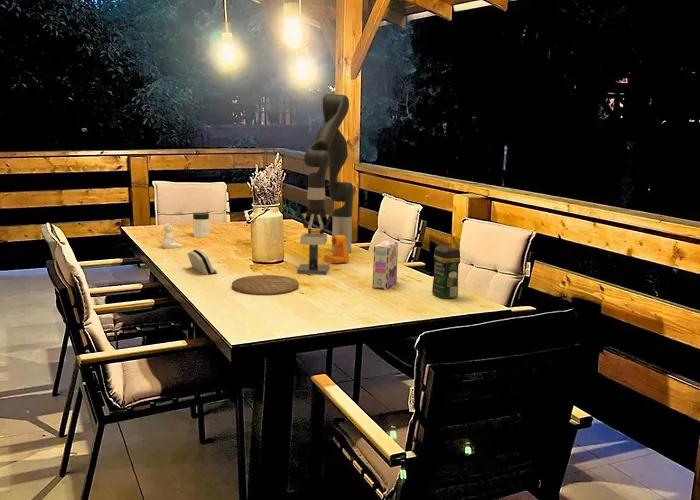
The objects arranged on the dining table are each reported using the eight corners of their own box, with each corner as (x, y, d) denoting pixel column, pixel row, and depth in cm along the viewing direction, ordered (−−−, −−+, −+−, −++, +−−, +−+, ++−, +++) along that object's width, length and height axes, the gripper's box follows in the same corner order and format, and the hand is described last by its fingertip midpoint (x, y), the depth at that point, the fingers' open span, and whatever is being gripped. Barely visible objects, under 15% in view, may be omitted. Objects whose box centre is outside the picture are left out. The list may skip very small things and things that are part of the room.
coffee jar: (428, 293, 251) (430, 244, 247) (446, 291, 254) (448, 243, 250) (443, 300, 242) (445, 249, 238) (461, 298, 246) (464, 247, 242)
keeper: (300, 267, 289) (301, 240, 287) (328, 268, 288) (329, 241, 286) (297, 273, 277) (297, 246, 275) (326, 274, 277) (326, 247, 274)
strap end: (305, 237, 292) (305, 228, 292) (328, 237, 292) (328, 228, 291) (300, 244, 276) (300, 234, 275) (324, 245, 275) (324, 235, 275)
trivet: (225, 282, 262) (225, 277, 261) (286, 277, 271) (286, 273, 271) (241, 298, 239) (241, 293, 239) (308, 292, 249) (308, 287, 249)
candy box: (386, 290, 254) (388, 247, 251) (372, 288, 256) (373, 245, 253) (397, 282, 267) (398, 241, 264) (383, 280, 269) (384, 239, 266)
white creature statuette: (182, 248, 323) (182, 223, 321) (165, 250, 318) (164, 225, 316) (175, 245, 331) (175, 221, 329) (158, 246, 326) (157, 222, 324)
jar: (198, 238, 351) (197, 215, 348) (189, 236, 356) (189, 213, 354) (213, 236, 357) (212, 213, 355) (204, 234, 363) (204, 212, 360)
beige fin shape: (217, 274, 273) (209, 251, 270) (207, 279, 271) (198, 256, 268) (203, 265, 287) (195, 244, 284) (193, 270, 285) (185, 249, 282)
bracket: (323, 260, 305) (323, 233, 303) (337, 258, 308) (337, 232, 306) (334, 264, 296) (334, 237, 293) (348, 263, 299) (349, 236, 297)
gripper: (333, 197, 289) (333, 237, 292) (300, 196, 290) (300, 236, 293) (332, 199, 281) (331, 240, 285) (298, 198, 282) (298, 239, 285)
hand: (315, 237), depth 289 cm, fingers closed on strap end, 4 cm apart
